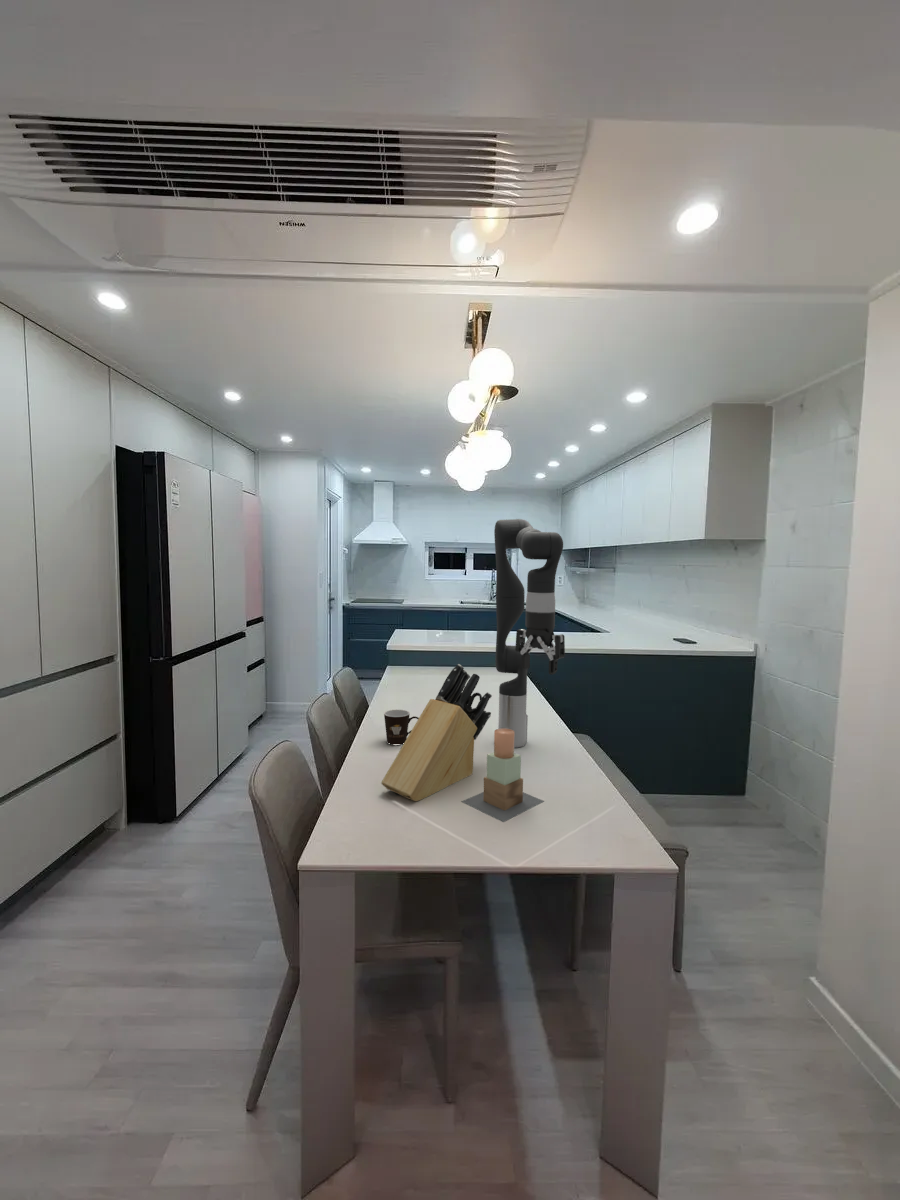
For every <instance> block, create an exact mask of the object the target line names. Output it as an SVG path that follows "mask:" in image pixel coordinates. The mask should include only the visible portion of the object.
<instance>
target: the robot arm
mask: <svg viewBox="0 0 900 1200" xmlns="http://www.w3.org/2000/svg"><path fill="white" fill-rule="evenodd" d="M494 549H495V550H494V551H495V553H494V554H495V566H496V567H495V568H496V569H495V572H496V576H495V577H496V578H495V580H496V581H495V583H496V585H495V610H496V614H495V615H496V639H495V657H494V658H495V659H494V660H495V669H496V671H497V672H498V673H503V674H515V675H516V674H517V676H516V677H515V678H513V679H511V680H507V681H504V682H502V683H500V684H499V687H498V696H499V697H498V723H497V725H498V726H497V729H501V728H505V729H511V730H513V731H514V748H521V747H524V746H526V743H528V725H529V724H528V719H529V715H528V714H527V698H528V697H527V696H528V694H527V692H528V691H527V690H528V689H527V688H528V685H527V684H528V670H529V669H530V668H531V667H530V665H531V655H530V653H531V652H532V650H533V649H538V650H543V652H544V653H545V654H546V655H547V657H548V659H549V660H548V674H549V675H550V676H551V675H555V674H557V672H558V666H559V665H558V664H559V662H558V660H559V659H564V658H565V656H566V650H565V649H566V647H565V635H564V634H563V633H561V634H555V633H554V629H555V626H556V625H555V624H556V618H555V617H556V596H555V590H556V576H557V575H556V574H557V570H558V566H559V562H560V559H561V556H562V553H563V549H564V541H563V538H562V536H561V535H560V533H558V532H554V531H547V532H546V531H541V530H539V529H537V528H534V527H533V525H531V523H530V522H529V521H527V519H522V518H513V519H499V520H497V521H496V522H495V524H494ZM512 549H513V550H514V549H519V550H521V553H522V556H523V557H524V558H525V559H526V560H527V559H528V560H538V561H539V560H540V561H541V560H543V561H545V560H546V562H545V564H544V565H543V566H542V567H538V568H533V569H530V570H529V571H528V572H527V583H526V584H527V585H526V592H525V587H524V585H523V583H522V582H521V580H520V578H519V576H518V575H517V574H516V573H515V571H514V569H513V567H512V566H511V564H510V561H509V558H508V554H507V550H512ZM525 593H526V599H525ZM524 610H525V622H524V623H525V625H524V626H525V627H526V629H525V628H520V629H519V628H518V629H517V630H516V633H515V634H516V635H515V636H516V637H515V645H507V642H506V641H507V639H508V636H509V634H510V633H511V631H512V629H513V627H514V626H515V625H516V623H517V622H518V620H519V619H520V618H521V616H522V614H523V612H524Z"/></svg>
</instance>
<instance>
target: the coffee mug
mask: <svg viewBox="0 0 900 1200" xmlns="http://www.w3.org/2000/svg"><path fill="white" fill-rule="evenodd" d="M383 715H384V727H385V733H386V734H385V735H386V743H387V742H388V743H390V744H403V743H405V741H406V739H407V738H408V736H409V734H410V732H411V731H412V729H411V730H409V731H408V729H409V724H410V722H411V721H412V720H413V719H415V720H416V719H417V720H418V719H419V717H418V716H411V717H410V711H408V710H406V709H390V710H386V711H384V712H383ZM388 743H387V744H388Z"/></svg>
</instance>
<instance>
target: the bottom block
mask: <svg viewBox="0 0 900 1200" xmlns="http://www.w3.org/2000/svg"><path fill="white" fill-rule="evenodd" d="M483 792H484V796H483V801H485V802H487V803H489V804H491V805H494V806H496V807H498V808H500V809H502V810H504V811H505V810H507V809H509V808H511V807H513V806H515V805H517V804H519V803H521V802H523V792H524V778H522V777H520V779H518V780H516V781H514V782H511V783H509V784H507V785H503V784H500V783H498V782H496V781H493V780H491V779H488V778H487V776H484V777H483Z"/></svg>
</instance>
